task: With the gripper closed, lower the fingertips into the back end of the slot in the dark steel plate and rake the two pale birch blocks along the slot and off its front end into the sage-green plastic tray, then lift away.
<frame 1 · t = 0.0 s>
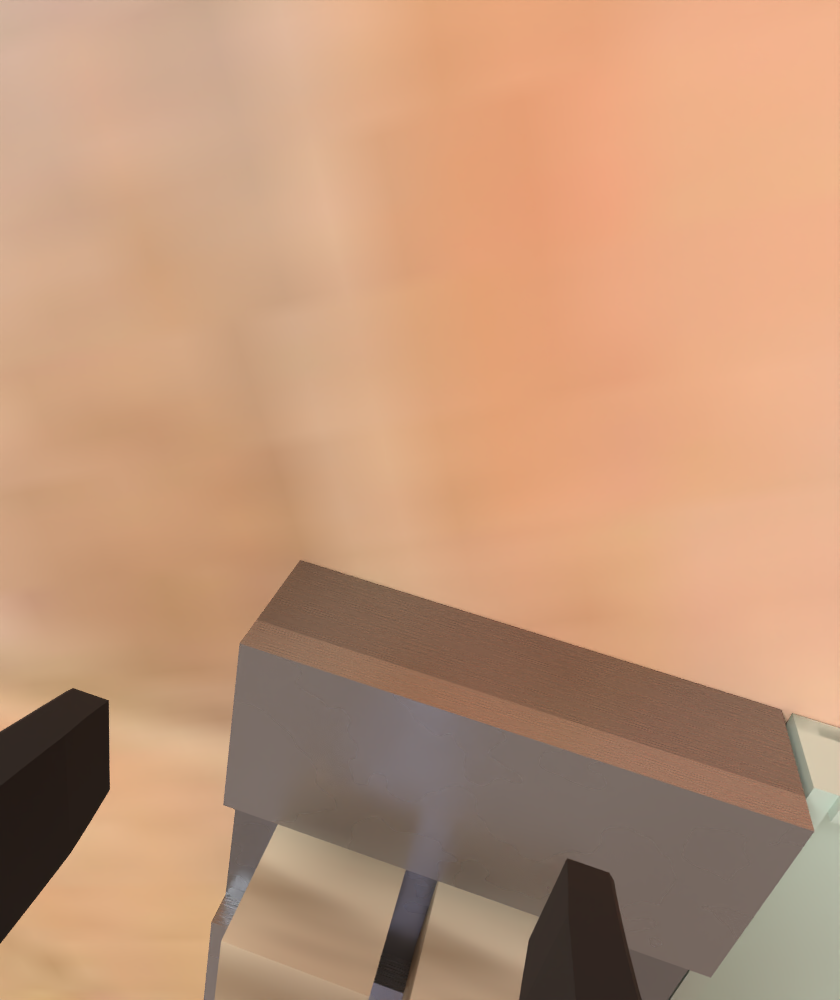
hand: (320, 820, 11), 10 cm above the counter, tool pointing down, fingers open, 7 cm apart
slotted plate: (461, 834, 25), on the counter
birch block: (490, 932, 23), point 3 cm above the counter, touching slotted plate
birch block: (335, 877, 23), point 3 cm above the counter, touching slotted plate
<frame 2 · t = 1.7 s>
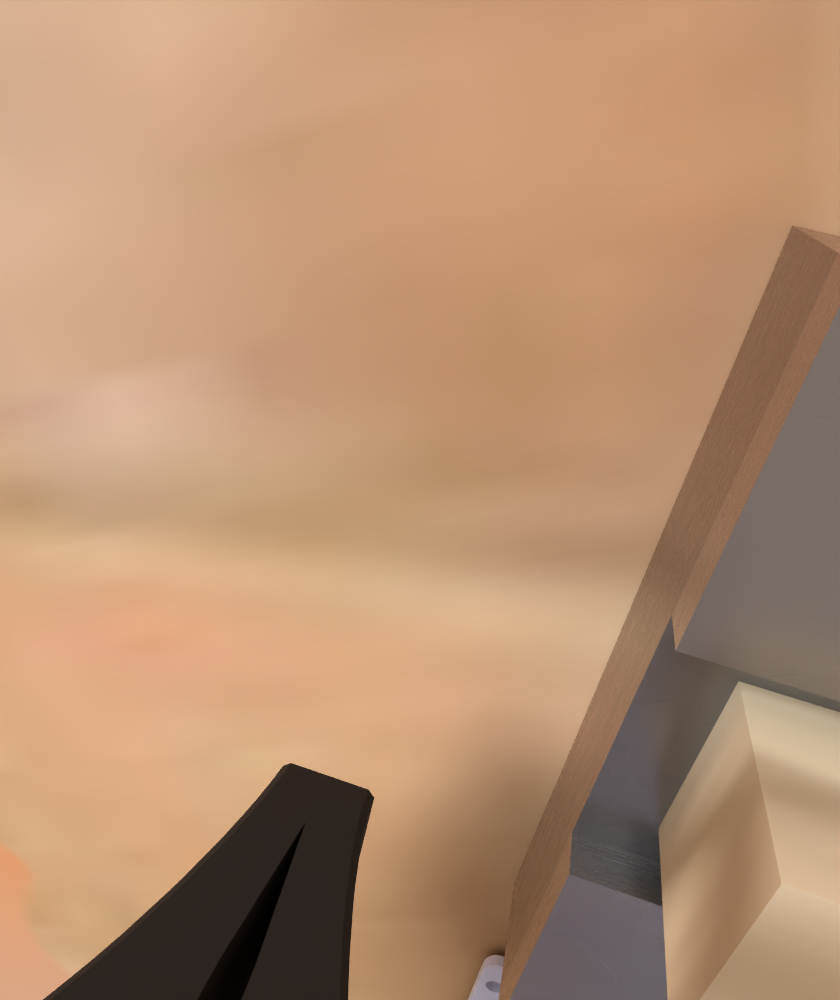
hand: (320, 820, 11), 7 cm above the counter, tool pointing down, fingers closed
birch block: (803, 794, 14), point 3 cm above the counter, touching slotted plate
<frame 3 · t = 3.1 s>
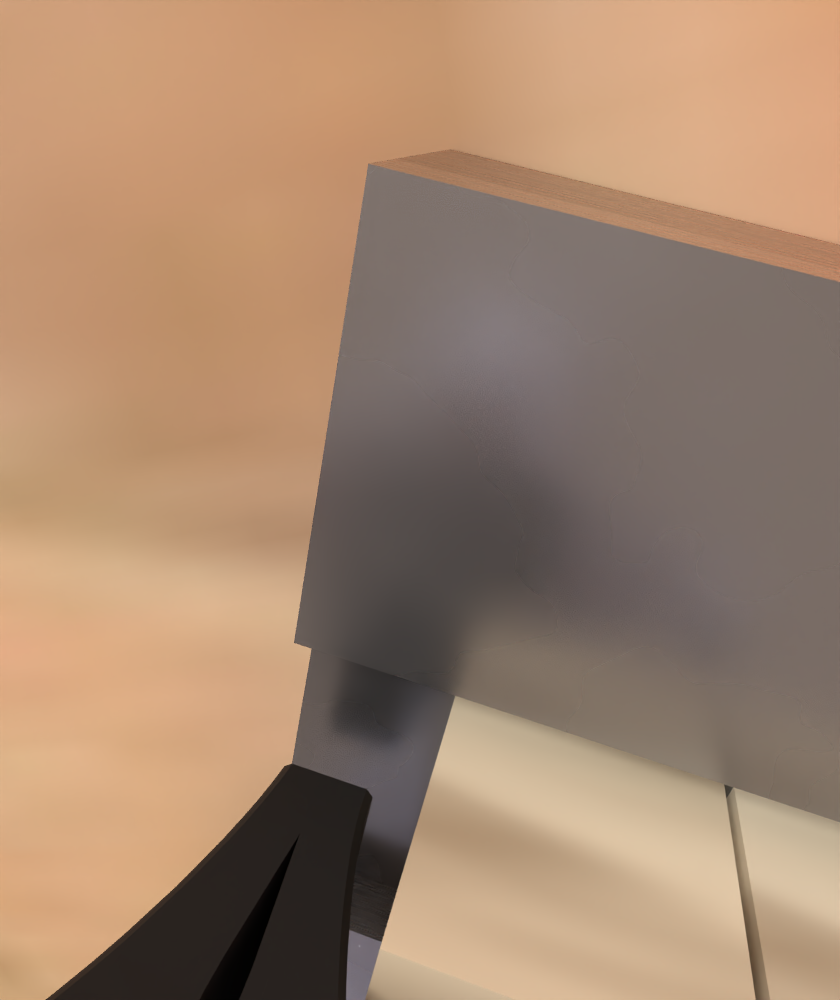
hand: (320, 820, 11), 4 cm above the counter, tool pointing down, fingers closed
slotted plate: (696, 743, 14), on the counter
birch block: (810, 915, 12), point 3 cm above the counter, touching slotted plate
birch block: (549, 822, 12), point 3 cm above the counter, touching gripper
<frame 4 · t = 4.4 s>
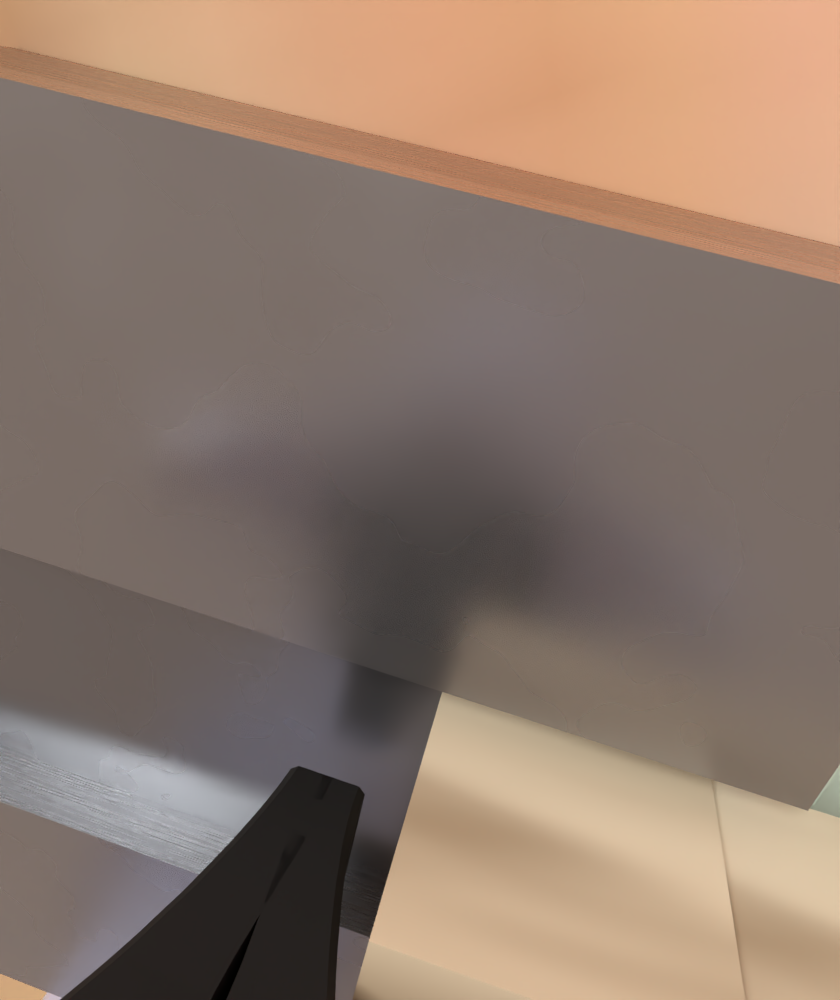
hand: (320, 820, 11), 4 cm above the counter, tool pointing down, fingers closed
slotted plate: (350, 631, 15), on the counter
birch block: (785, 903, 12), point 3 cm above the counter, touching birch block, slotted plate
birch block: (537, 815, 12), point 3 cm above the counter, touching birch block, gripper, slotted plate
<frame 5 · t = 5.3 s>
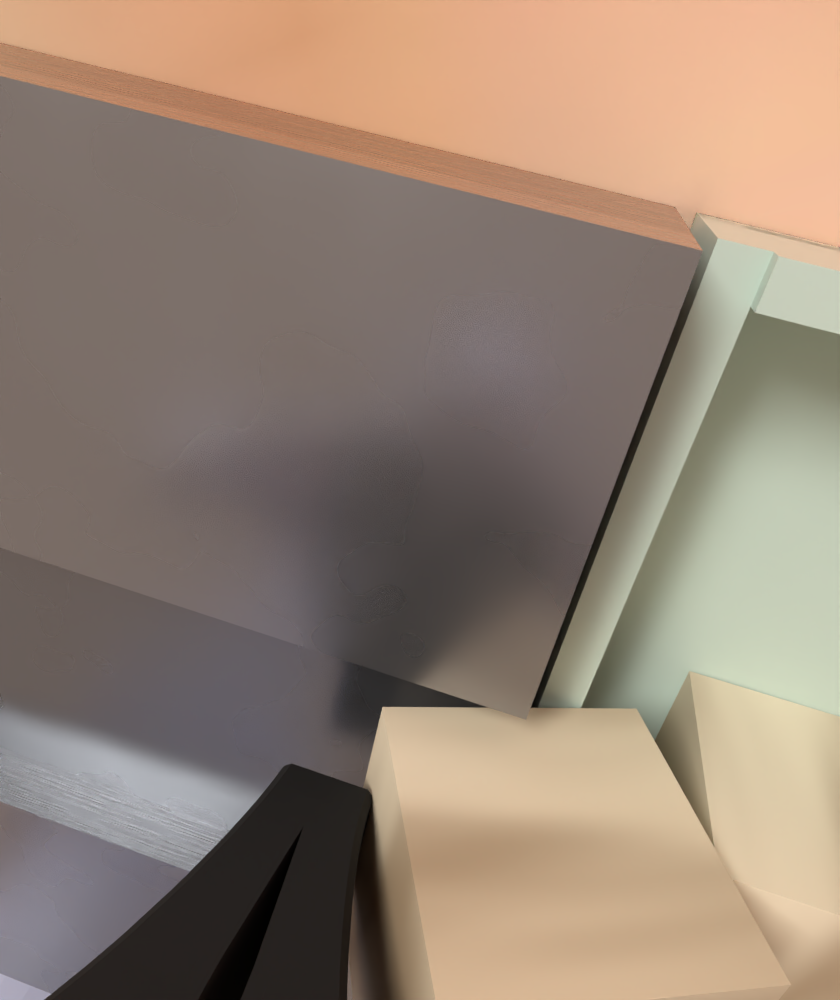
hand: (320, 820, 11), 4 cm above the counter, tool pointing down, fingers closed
slotted plate: (183, 577, 15), on the counter
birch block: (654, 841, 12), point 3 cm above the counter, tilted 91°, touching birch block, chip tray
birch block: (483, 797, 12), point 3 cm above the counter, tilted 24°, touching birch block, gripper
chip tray: (816, 781, 14), on the counter
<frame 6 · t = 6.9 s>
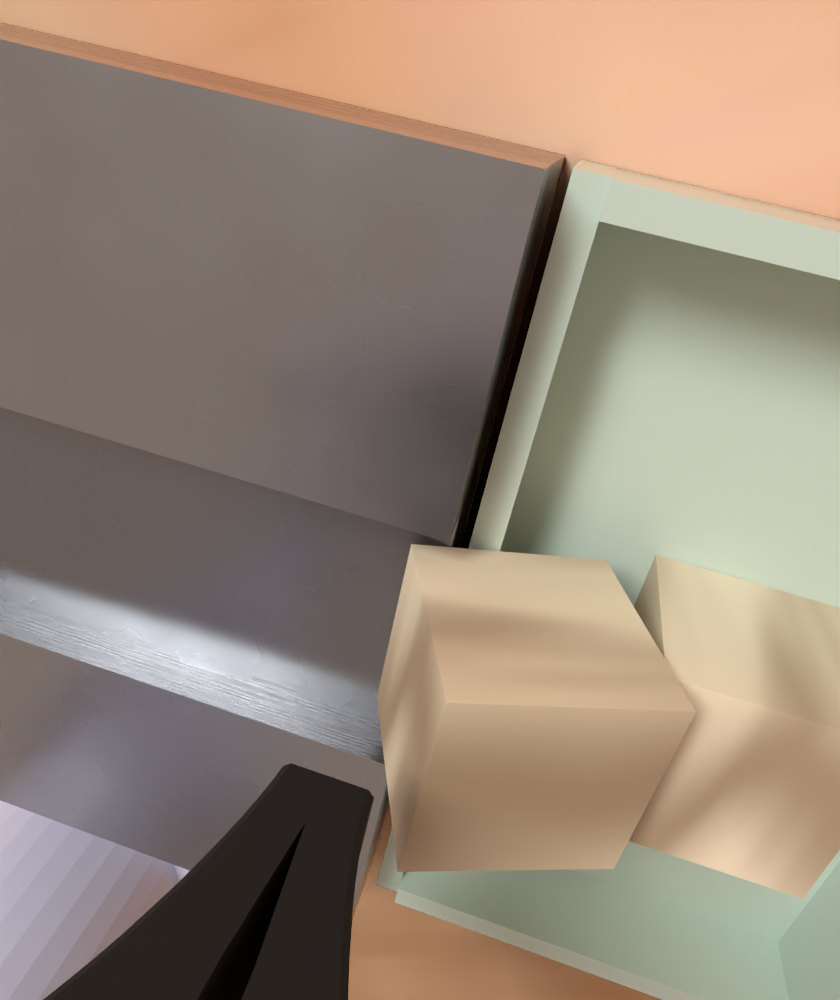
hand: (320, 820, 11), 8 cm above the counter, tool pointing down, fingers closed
slotted plate: (189, 477, 19), on the counter
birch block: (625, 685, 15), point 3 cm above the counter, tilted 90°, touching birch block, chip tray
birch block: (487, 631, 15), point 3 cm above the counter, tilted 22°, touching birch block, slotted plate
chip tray: (706, 635, 17), on the counter
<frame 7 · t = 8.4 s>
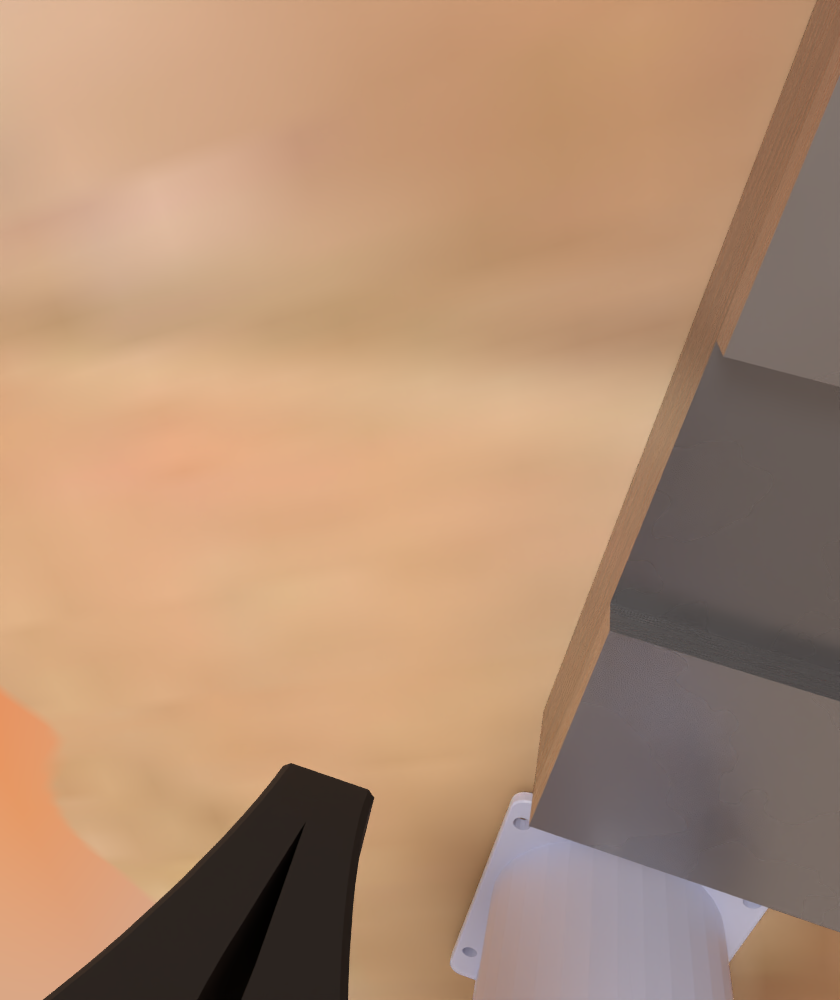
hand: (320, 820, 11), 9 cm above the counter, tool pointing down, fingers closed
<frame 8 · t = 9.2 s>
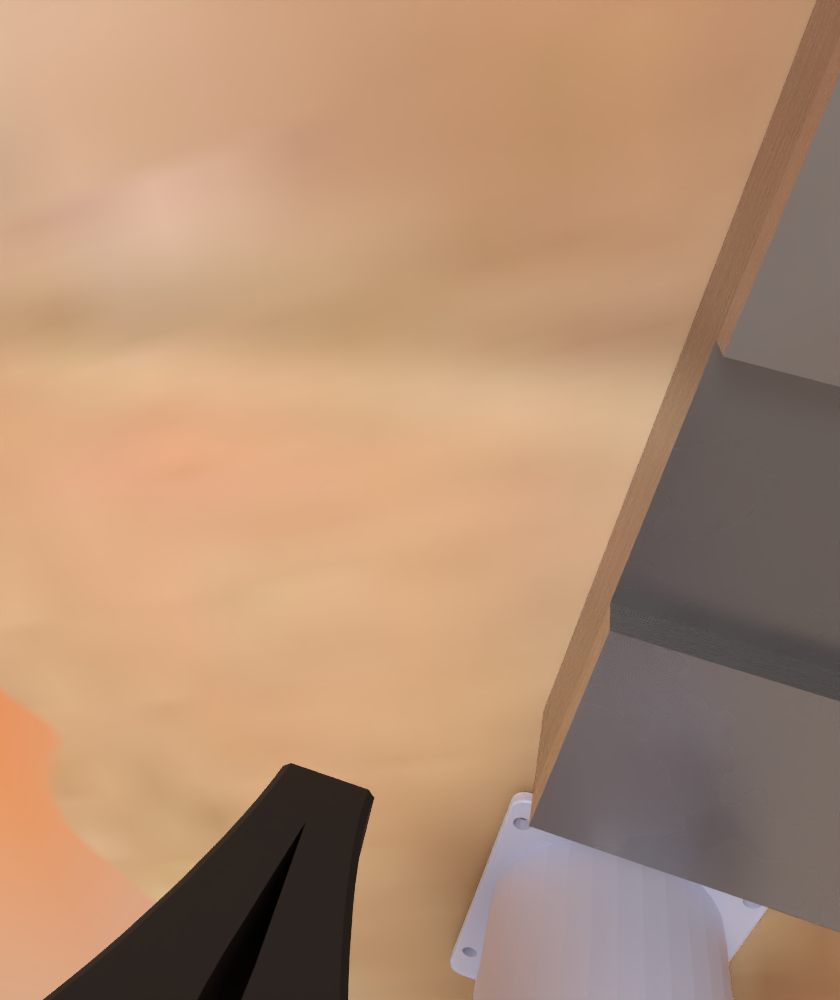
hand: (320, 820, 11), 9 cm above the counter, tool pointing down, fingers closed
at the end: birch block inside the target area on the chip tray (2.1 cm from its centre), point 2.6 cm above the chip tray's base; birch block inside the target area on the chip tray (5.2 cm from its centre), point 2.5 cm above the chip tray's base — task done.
